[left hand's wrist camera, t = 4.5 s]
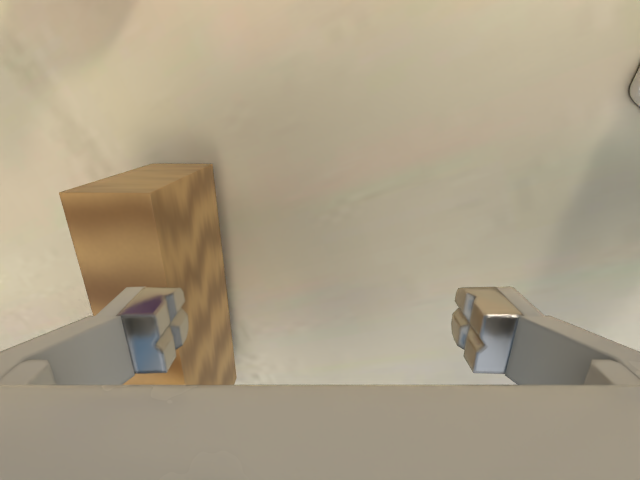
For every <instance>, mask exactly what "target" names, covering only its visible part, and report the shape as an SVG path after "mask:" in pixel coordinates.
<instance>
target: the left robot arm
mask: <svg viewBox="0 0 640 480" xmlns="http://www.w3.org/2000/svg"><path fill="white" fill-rule="evenodd" d="M630 96H631V98H632V99H633V101H634V102H635V103H636V104H637V105H638V106H639V107H640V67H639V69H638V71H637V73H636V75H635V77H634V79H633V82H632V84H631V86H630ZM184 302H185V296H184V291H183V290H182V289H181V288H180V287H145V286H144V287H126V288H125V289H124V290H123V291H122V292H121V293H120V294H119V295H118V296H116V297H115V298H114V299H113V300H112V301H111V302H110V303H109V304H108V305H107V306H105V307H104V308H103V309H102V310H101V311H100V312H99V313H98V314H97V315H96V316H88V317H86V318H83V319H81V320H78V321H76V322H73V323H71V324H68V325H66V326H63V327H61V328H58V329H56V330H53V331H51V332H48V333H46V334H43V335H41V336H38V337H36V338H33V339H31V340H28V341H26V342H23V343H21V344H18V345H16V346H13V347H11V348H8V349H6V350H3V351H1V352H0V480H640V352H639V351H636V350H634V349H631V348H629V347H626V346H624V345H621V344H619V343H616V342H614V341H611V340H609V339H607V338H604V337H602V336H599V335H597V334H594V333H592V332H589V331H587V330H584V329H582V328H579V327H577V326H574V325H572V324H569V323H567V322H564V321H562V320H559V319H557V318H554V317H552V316H544V315H543V314H542V313H541V312H540V311H539V310H538V309H537V308H536V307H535V306H533V305H532V304H531V303H530V302H529V301H528V300H527V299H526V298H525V297H524V296H523V295H521V294H520V293H519V292H518V291H517V290H516V289H515V288H513V287H510V286H507V287H465V288H458V290H457V292H456V296H455V302H456V304H457V305H458V307H459V308H458V309H457V310H456V311H455V312H454V313H453V314H452V322H451V327H452V334H453V338H454V340H455V342H456V344H457V346H459V347H460V348H462V349H464V358H465V360H466V361H467V363H468V365H469V366H470V368H471V370H472V371H473V373H494V374H505V376H507V377H508V378H509V379H511V380H512V381H513V382H515V383H516V384H518V385H123V384H124V383H125V382H127V381H128V380H129V379H131V378H132V377H133V376H135V374H146V373H167V371H168V370H169V368H170V366H171V365H172V363H173V361H174V360H175V358H176V351H175V350H176V349H178V348H180V347H181V346H183V344H184V342H185V340H186V338H187V334H188V329H189V321H188V314H187V313H186V312H185V311H184V310H183V309H182V308H181V307H182V305H183V304H184Z"/></svg>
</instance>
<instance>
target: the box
mask: <svg viewBox="0 0 640 480" xmlns="http://www.w3.org/2000/svg"><path fill="white" fill-rule="evenodd" d="M59 195H60V198H61V202H62V205H63V209H64V212H65V216H66V220H67V223H68V227H69V230H70V234H71V237H72V241H73V245H74V248H75V252H76V255H77V259H78V262H79V266H80V270H81V273H82V277H83V280H84V284H85V287H86V291H87V295H88V298H89V302H90V305H91V309H92V312H93V316H96V315H97V314H98V313H99V312H100V311H101V310H102V309H103V308H104V307H105V306H107V305H108V304H109V303H110V302H111V301H112V300H113V299H114V298H115V297H116V296H118V295H119V294H120V293H121V292H122V291H123V290H124V289H125V288H126V287H144V286H145V287H180V288H181V289H182V290H183V291H184V296H185V302H184V304H183V305H182V307H181V308H182V309H183V310H184V311H185V312H186V313H187V314H188V321H189V329H188V334H187V338H186V340H185V342H184V344H183V346H181V347H180V348H178V349H176V350H175V351H176V358H175V360H174V361H173V363H172V365H171V366H170V368H169V370H168V371H167V373H146V374H135V376H133V377H132V378H131V379H129V380H128V381H127V382H125V383H124V384H123V385H234V383H235V380H236V369H235V360H234V352H233V343H232V334H231V325H230V316H229V307H228V298H227V290H226V281H225V272H224V263H223V254H222V245H221V236H220V228H219V219H218V210H217V201H216V192H215V183H214V175H213V166H212V164H149V165H146V166H143V167H140V168H137V169H133V170H130V171H127V172H124V173H121V174H117V175H114V176H111V177H108V178H104V179H101V180H98V181H95V182H92V183H88V184H85V185H82V186H79V187H75V188H72V189H69V190H66V191H63V192H60V193H59Z"/></svg>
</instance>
